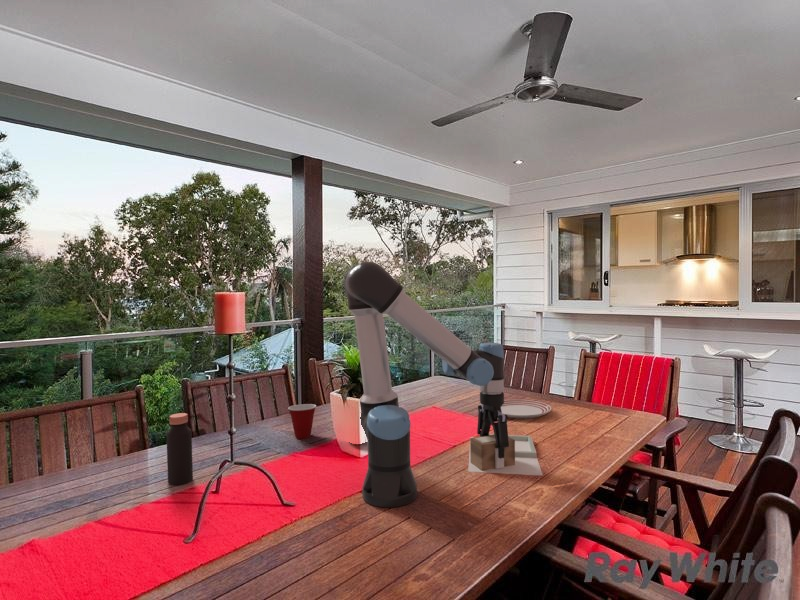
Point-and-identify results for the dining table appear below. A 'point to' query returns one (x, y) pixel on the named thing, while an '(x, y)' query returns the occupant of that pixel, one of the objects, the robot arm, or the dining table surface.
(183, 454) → the bottle
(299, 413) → the plastic cup
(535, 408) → the dinner plate
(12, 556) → the dining table surface
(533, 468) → the grey board with frame
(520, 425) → the dining table surface
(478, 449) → the wooden block
